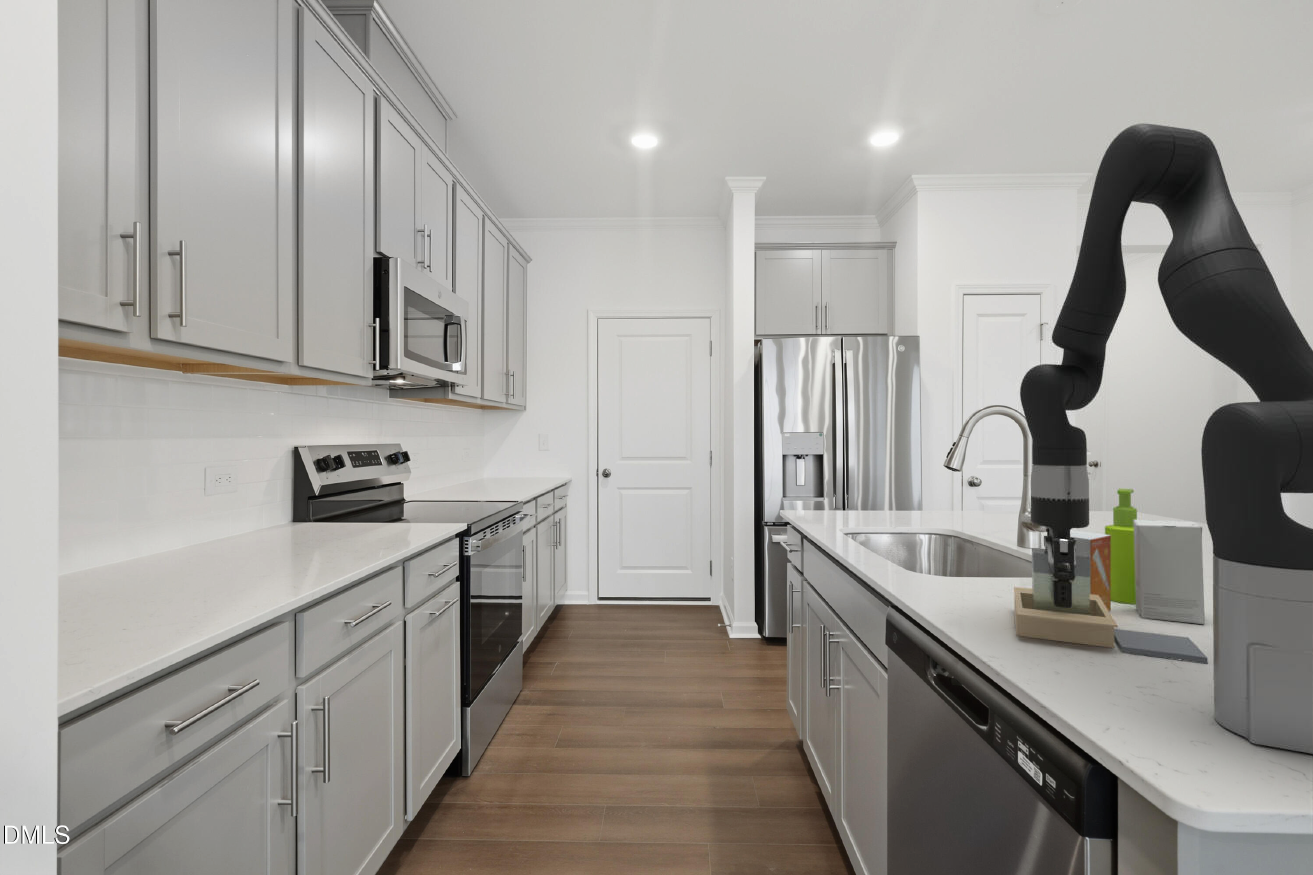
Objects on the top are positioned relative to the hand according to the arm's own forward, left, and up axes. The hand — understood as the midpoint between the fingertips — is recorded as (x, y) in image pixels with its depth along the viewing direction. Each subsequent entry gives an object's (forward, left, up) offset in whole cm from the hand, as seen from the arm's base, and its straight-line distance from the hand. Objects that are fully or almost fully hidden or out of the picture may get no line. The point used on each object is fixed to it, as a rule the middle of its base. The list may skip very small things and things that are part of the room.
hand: (1059, 599), depth 94 cm
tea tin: (0, 0, -5) cm, 5 cm away
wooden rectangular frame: (0, 0, -5) cm, 5 cm away
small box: (+14, -4, -5) cm, 15 cm away
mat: (-3, -11, -5) cm, 12 cm away
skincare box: (+16, -16, -5) cm, 23 cm away
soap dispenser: (+26, -12, -5) cm, 29 cm away
